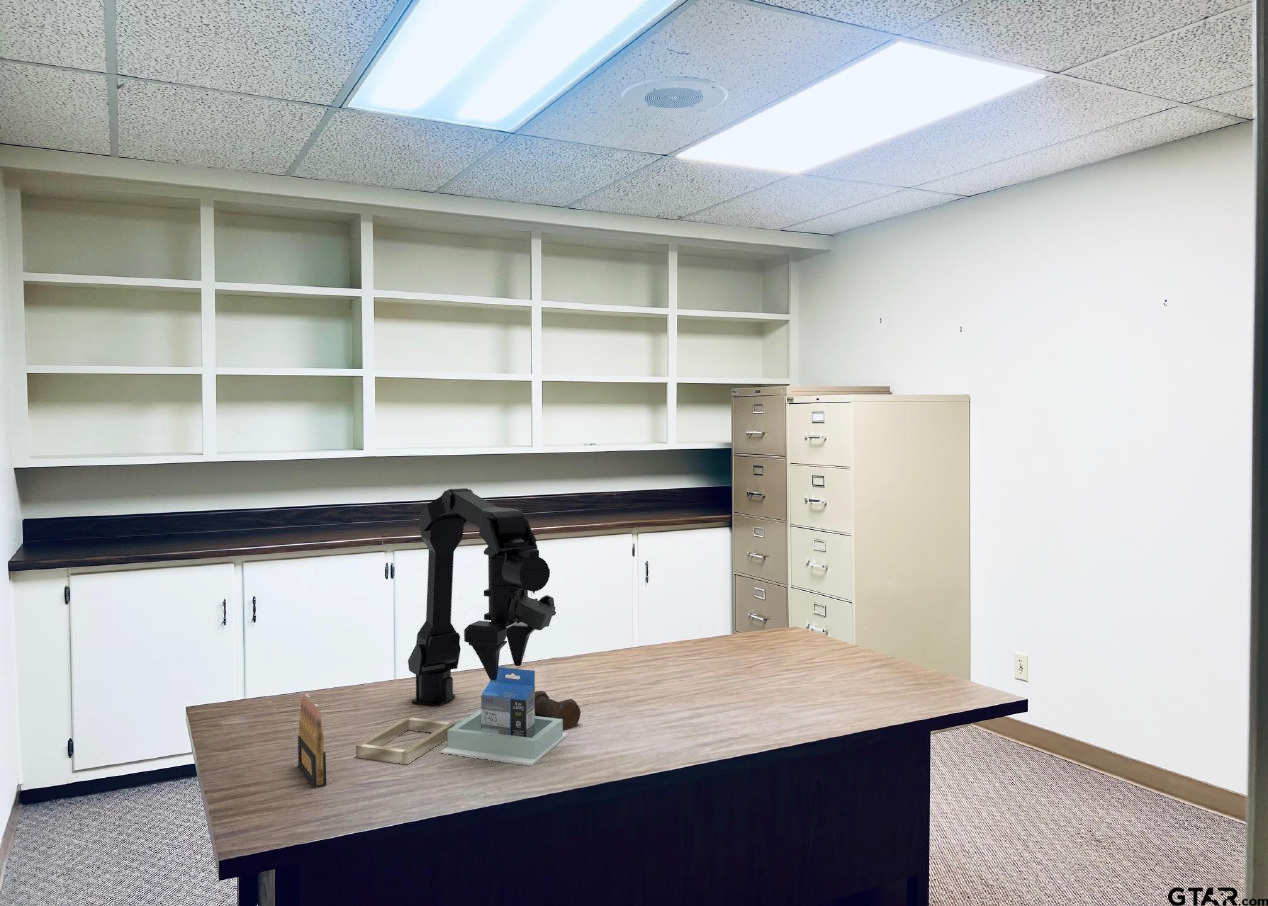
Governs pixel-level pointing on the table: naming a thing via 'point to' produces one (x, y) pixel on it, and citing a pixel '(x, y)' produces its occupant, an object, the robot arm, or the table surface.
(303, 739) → the ammunition clip
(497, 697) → the label tape cartridge
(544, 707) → the bolt
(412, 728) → the beige open rectangular frame
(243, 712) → the table surface
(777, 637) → the table surface
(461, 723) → the slot plate
